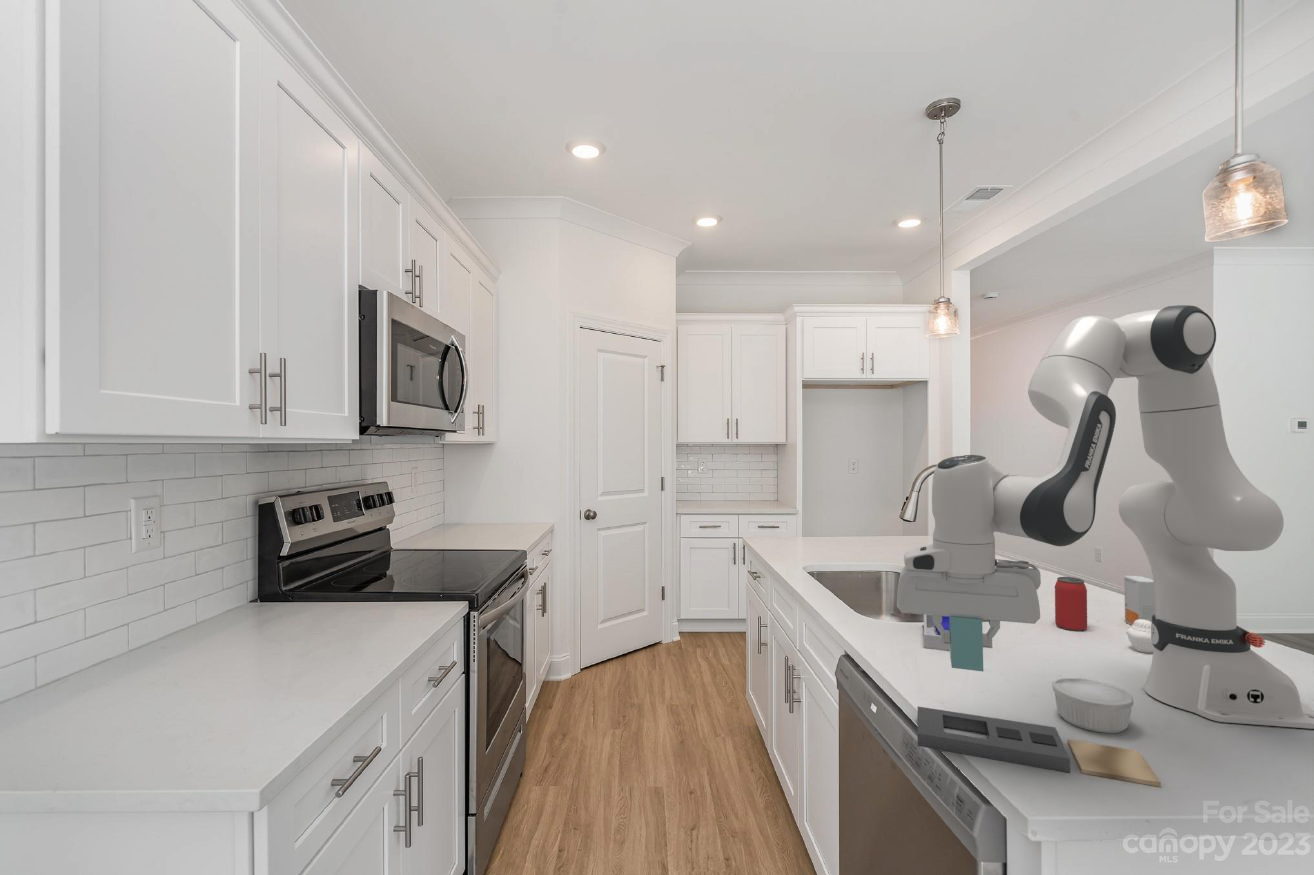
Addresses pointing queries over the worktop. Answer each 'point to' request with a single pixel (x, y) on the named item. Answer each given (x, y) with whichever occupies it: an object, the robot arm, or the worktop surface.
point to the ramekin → (1093, 704)
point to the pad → (1112, 763)
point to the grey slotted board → (993, 739)
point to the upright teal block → (966, 643)
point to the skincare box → (1138, 598)
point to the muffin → (1141, 636)
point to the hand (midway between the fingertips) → (965, 644)
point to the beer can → (1071, 604)
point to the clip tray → (932, 636)
